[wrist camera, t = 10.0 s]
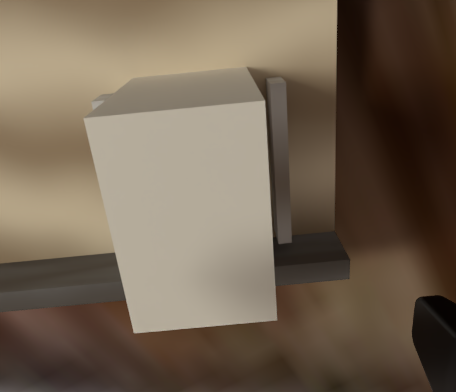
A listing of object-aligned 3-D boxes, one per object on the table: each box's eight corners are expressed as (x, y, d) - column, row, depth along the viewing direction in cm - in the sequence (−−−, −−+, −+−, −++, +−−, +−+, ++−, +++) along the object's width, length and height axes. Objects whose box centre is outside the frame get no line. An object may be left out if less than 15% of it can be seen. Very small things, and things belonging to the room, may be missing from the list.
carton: (246, 66, 17) (265, 100, 10) (257, 223, 20) (277, 325, 13) (133, 77, 17) (83, 118, 10) (161, 232, 20) (135, 338, 13)
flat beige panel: (-229, -22, 16) (-356, -31, 13) (327, -81, 16) (360, -108, 12) (-85, 277, 22) (-145, 329, 19) (326, 237, 22) (349, 282, 18)
